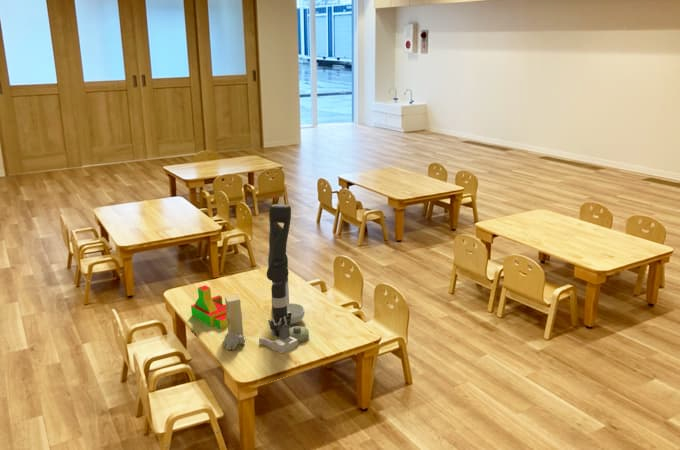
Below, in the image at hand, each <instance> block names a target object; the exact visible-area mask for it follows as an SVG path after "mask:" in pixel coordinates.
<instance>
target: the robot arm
mask: <svg viewBox="0 0 680 450" xmlns="http://www.w3.org/2000/svg"><path fill="white" fill-rule="evenodd" d="M268 217H269V218H268V220H269V232H268V233H269V236H268V241H269V242H268V243H269V245H268V247H269V249H268V250H269V251H268V257H267V258H268V259H267V264H268V267H267V271H266V278H267V279H268V280H269V281H271V284H272V285H271V286H270V287H271V311H272V313H271V314H272V318H271V319H269V320H267V321H268V326H269V327H270V330H271V331H272V330H274V332H275V336H276V338H277V337H279V326H280V323H283V324H285V325H287V326H289V325H288V324H290V320H291V315H292V313H290V312H287V304H289V303H290V292H289V291H290V290H289V288H290V287H289V274H290V272H289V269H288V268H289V266H288V265H289V263H288V262H289V259H288V255H287V244H288V237H289V234H290V233H289V232H290V225H291V218H292V208H291V206H290V204H289V205H288V204H272V205H270V207H269V210H268ZM280 224H283V227H282V226H281V225H280ZM277 323H278V324H277ZM276 326H277V328H276ZM275 336H274V337H275Z"/></svg>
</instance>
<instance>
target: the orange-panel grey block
mask: <svg viewBox="0 0 680 450" xmlns="http://www.w3.org/2000/svg"><path fill="white" fill-rule="evenodd" d="M277 324H278V323H277ZM276 328H277V326H276ZM289 328H290V326H289V325H285V324H283V323H280V326H279V337H276V336H275V332H274V330H271V331H272V332H271V333H272V336H274V337H276V338H278V339H282V340H285V339H287V338H289V337H290V332H289Z"/></svg>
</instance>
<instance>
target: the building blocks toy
mask: <svg viewBox="0 0 680 450" xmlns="http://www.w3.org/2000/svg"><path fill="white" fill-rule="evenodd" d="M197 293H198V298H197V300H196V301H195V302H194V304H191V305H190V308H191V309H190V310H191V316H192V317H194V318H196V319H197V320H199V321H200V322H202V323H204V324H205V325H207V326H209V327H213V326H215V327H217V328H218V329H220V330H221V329H224V328H226V327H228V324H227V313H226V303H225V304H223V297H222V296H221V295H217V296H213V297H212V294H211V293H212V291H211V287H209V286H208V285H201V286H198V287H197ZM242 313H243V312H242V311H241V316H242V317H243V314H242Z"/></svg>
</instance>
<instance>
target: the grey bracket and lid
mask: <svg viewBox="0 0 680 450" xmlns="http://www.w3.org/2000/svg"><path fill="white" fill-rule="evenodd" d="M289 332H290V337H289V338H287V339H285V340H282V339H279V338H278V339H277V340H274V341H273V340H271V339H269V338H267V337H258V344H260V345H265V346H267V347H268V348H269V349H273V350H274V351H277V352H278V353H280V354H282V353H283V354H284V353H285V352H288V351H289V350H291V349H294V348H295V347H297V346H298V345H299V343H302V342H305V341H307V340H308V339H309V337H310V335H309V329H308V328H307V327H305V326H297V325H296V326H292V327H289Z"/></svg>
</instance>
